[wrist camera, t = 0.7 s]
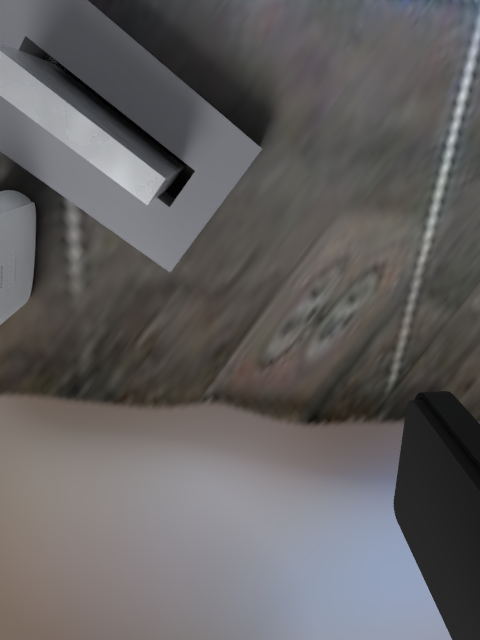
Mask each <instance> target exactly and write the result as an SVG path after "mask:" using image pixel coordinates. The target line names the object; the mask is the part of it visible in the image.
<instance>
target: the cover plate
mask: <svg viewBox="0 0 480 640" xmlns="http://www.w3.org/2000/svg"><path fill="white" fill-rule="evenodd" d="M0 96H2V97H3V98H4V99H6V100H7V101H8V102H10V103H11V104H12V105H14V106H15V107H16V108H18V109H19V110H20V111H22V112H23V113H24V114H26V115H27V116H28V117H30V118H31V119H32V120H34V121H35V122H36V123H38V124H39V125H40V126H42V127H43V128H44V129H46V130H47V131H48V132H50V133H51V134H52V135H54V136H55V137H56V138H58V139H59V140H60V141H62V142H63V143H64V144H66V145H67V146H68V147H70V148H71V149H72V150H74V151H75V152H76V153H78V154H79V155H81V156H82V157H83V158H85V159H86V160H87V161H89V162H90V163H91V164H93V165H94V166H95V167H97V168H98V169H99V170H101V171H102V172H103V173H105V174H106V175H107V176H109V177H110V178H111V179H113V180H114V181H115V182H117V183H118V184H119V185H121V186H122V187H123V188H125V189H126V190H127V191H129V192H130V193H131V194H133V195H134V196H135V197H137V198H138V199H139V200H141V201H142V202H143V203H145V204H146V205H148V204H150V203H151V202H152V201H153V200H155V199H156V198H157V197H158V196H159V195H161V194H162V193H163V192H164V191H166V190H167V189H168V188H169V187H170V186H171V185H172V184H173V182H174V181H175V180H176V178H177V177H178V175H179V174H180V172H181V171H182V169H183V168H184V167H185V166H183V165H182V164H181V163H180V162H178V161H177V160H176V159H175V158H173V157H172V156H171V155H170V154H168V153H167V152H166V151H165V150H163V149H162V148H161V147H159V146H158V145H157V144H156V143H154V142H153V141H152V140H151V139H149V138H148V137H147V136H146V135H144V134H143V133H142V132H141V131H139V130H138V129H137V128H136V127H134V126H133V125H132V124H131V123H129V122H128V121H127V120H125V119H124V118H123V117H122V116H120V115H119V114H118V113H117V112H115V111H114V110H113V109H112V108H110V107H109V106H108V105H107V104H105V103H104V102H103V101H102V100H100V99H99V98H98V97H96V96H95V95H94V94H93V93H91V92H90V91H89V90H88V89H86V88H85V87H84V86H83V85H81V84H80V83H79V82H78V81H76V80H75V79H74V78H73V77H71V76H70V75H69V74H68V73H66V72H65V71H64V70H62V69H61V68H60V67H59V66H57V65H56V64H53V63H51V62H48V61H46V60H43V59H41V58H38V57H35V56H33V55H30V54H28V53H25V52H23V51H20V50H17V49H15V48H12V47H10V46H7V45H5V44H2V43H0Z"/></svg>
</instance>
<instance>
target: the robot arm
mask: <svg viewBox="0 0 480 640" xmlns="http://www.w3.org/2000/svg"><path fill="white" fill-rule="evenodd" d="M394 511H395V516H396V519H397V522H398V524H399V526H400V528H401V530H402V532H403V535H404V537H405V539H406V541H407V543H408V545H409V547H410V549H411V552H412V554H413V556H414V558H415V560H416V563H417V565H418V567H419V569H420V571H421V573H422V575H423V578H424V580H425V582H426V584H427V586H428V588H429V591H430V593H431V595H432V597H433V599H434V601H435V603H436V606H437V608H438V610H439V612H440V614H441V616H442V618H443V621H444V623H445V625H446V627H447V629H448V631H449V633H450V636H451V638H452V640H480V424H479V423H478V422H477V421H476V419H475V418H474V417H473V416H472V415H471V414H470V413H469V412H468V411H467V410H466V408H465V407H464V406H463V405H462V404H461V403H460V402H459V401H458V400H457V399H456V397H455V396H454V395H453V394H452V393H450V392H448V391H440V392H422V393H418V394H417V396H416V397H415V400H410V401H409V402H408V404H407V408H406V415H405V423H404V430H403V437H402V445H401V452H400V459H399V467H398V474H397V482H396V489H395V496H394Z"/></svg>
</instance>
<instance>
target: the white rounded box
mask: <svg viewBox="0 0 480 640" xmlns="http://www.w3.org/2000/svg"><path fill="white" fill-rule="evenodd" d="M35 244H36V209H35V203H34V202H31V201H30V199H29V198H28V197H27V196H25V195H24V194H22V193H20V192H17V191H13V190H4V191H0V324H2V323H3V322H4V321H5V320H6V319H8V318H9V317H10V316H11V315H12V314H14V313H15V312H16V311H17V310H18V309H20V308H21V307H22V306H23V305H24V304H25V303H26V302H27V301H28V300H29V297H30V294H31V290H32V284H33V273H34V261H35Z"/></svg>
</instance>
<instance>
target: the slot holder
mask: <svg viewBox="0 0 480 640" xmlns="http://www.w3.org/2000/svg"><path fill="white" fill-rule="evenodd" d="M0 43H2V44H5V45H7V46H10V47H12V48H15V49H17V50H20V51H23V52H25V53H28V54H30V55H33V56H35V57H38V58H41V59H43V57H44V55H45V53H48V54H49V55H50V56H51V57H53V58H54V59H55V60H56V61H58V62H59V63H60V64H62V65H63V66H64V67H65V68H67V69H68V70H69V71H70V72H72V73H73V74H74V75H75V76H77V77H78V78H79V79H80V80H82V81H83V82H84V83H85V84H87V85H88V86H89V87H90V88H92V89H93V90H94V91H95V92H97V93H98V94H99V95H100V96H102V97H103V98H104V99H105V100H107V101H108V102H109V103H110V104H112V105H113V106H114V107H116V108H117V109H118V110H119V111H121V112H122V113H123V114H124V115H126V116H127V117H128V118H129V119H131V120H132V121H133V122H134V123H136V124H137V125H138V126H139V127H141V128H142V129H143V130H144V131H146V132H147V133H148V134H149V135H151V136H152V137H153V138H154V139H156V140H157V141H158V142H159V143H161V144H162V145H163V146H164V147H166V148H167V149H168V150H170V151H171V152H172V153H173V154H175V155H176V156H177V157H178V158H180V159H181V160H182V161H183V162H185V163H186V164H187V165H188V166H190V167H191V168H192V169H193V170H195V172H194V173H193V175H192V176H191V178H190V179H189V180H188V182H187V183H186V185H185V186H184V188H183V189H182V190H181V192H180V193H179V195H178V196H177V198H176V199H174V198H172V197H171V196H170V195H168V194H167V193H166V192H165V191H164V192H163V193H162V194H161V195H159V196H158V197H157V198H156V199H155V200H153V201H152V202H151V203H150V204H148V205H146V204H145V203H143V202H142V201H141V200H139V199H138V198H137V197H135V196H134V195H133V194H131V193H130V192H129V191H127V190H126V189H125V188H123V187H122V186H121V185H119V184H118V183H117V182H115V181H114V180H113V179H111V178H110V177H109V176H107V175H106V174H105V173H103V172H102V171H101V170H99V169H98V168H97V167H95V166H94V165H93V164H91V163H90V162H89V161H87V160H86V159H85V158H83V157H82V156H81V155H79V154H78V153H76V152H75V151H74V150H72V149H71V148H70V147H68V146H67V145H66V144H64V143H63V142H62V141H60V140H59V139H58V138H56V137H55V136H54V135H52V134H51V133H50V132H48V131H47V130H46V129H44V128H43V127H42V126H40V125H39V124H38V123H36V122H35V121H34V120H32V119H31V118H30V117H28V116H27V115H26V114H24V113H23V112H22V111H20V110H19V109H18V108H16V107H15V106H14V105H12V104H11V103H10V102H8V101H7V100H6V99H4V98H3V97H2V96H0V152H2V153H3V154H5V155H6V156H7V157H9V158H10V159H12V160H13V161H14V162H16V163H17V164H19V165H20V166H21V167H23V168H24V169H26V170H27V171H28V172H30V173H31V174H33V175H34V176H35V177H37V178H38V179H40V180H41V181H42V182H44V183H45V184H47V185H48V186H49V187H51V188H52V189H54V190H55V191H56V192H58V193H59V194H61V195H62V196H63V197H65V198H66V199H68V200H69V201H71V202H72V203H73V204H75V205H76V206H78V207H79V208H80V209H82V210H83V211H85V212H86V213H87V214H89V215H90V216H92V217H93V218H94V219H96V220H97V221H99V222H100V223H101V224H103V225H104V226H106V227H107V228H108V229H110V230H111V231H113V232H114V233H115V234H117V235H118V236H120V237H121V238H122V239H124V240H125V241H127V242H128V243H129V244H131V245H132V246H134V247H135V248H136V249H138V250H139V251H141V252H142V253H143V254H145V255H146V256H148V257H149V258H150V259H152V260H153V261H155V262H156V263H158V264H159V265H160V266H162V267H163V268H165V269H166V270H167V271H169V272H171V271H172V269H173V268H174V267H175V265H176V264H177V263H178V261H179V260H180V259H181V257H182V256H183V255H184V253H185V252H186V251H187V249H188V248H189V246H190V245H191V244H192V242H193V241H194V240H195V238H196V237H197V236H198V234H199V233H200V232H201V230H202V229H203V228H204V226H205V225H206V224H207V222H208V221H209V220H210V218H211V217H212V216H213V214H214V213H215V212H216V210H217V209H218V208H219V206H220V205H221V204H222V202H223V201H224V200H225V198H226V197H227V196H228V194H229V193H230V192H231V190H232V189H233V187H234V186H235V185H236V183H237V182H238V181H239V179H240V178H241V177H242V175H243V174H244V173H245V171H246V170H247V169H248V167H249V166H250V165H251V163H252V162H253V161H254V159H255V158H256V157H257V155H258V154H259V153H260V151H261V150H262V148H261V147H259V146H258V145H257V144H256V143H255V142H254V141H252V140H251V139H250V138H249V137H248V136H247V135H245V134H244V133H243V132H242V131H241V130H239V129H238V128H237V127H236V126H235V125H234V124H232V123H231V122H230V121H229V120H228V119H227V118H225V117H224V116H223V115H222V114H221V113H220V112H218V111H217V110H216V109H215V108H214V107H212V106H211V105H210V104H209V103H208V102H207V101H205V100H204V99H203V98H202V97H201V96H200V95H198V94H197V93H196V92H195V91H194V90H193V89H191V88H190V87H189V86H188V85H187V84H185V83H184V82H183V81H182V80H181V79H180V78H178V77H177V76H176V75H175V74H174V73H173V72H171V71H170V70H169V69H168V68H167V67H166V66H164V65H163V64H162V63H161V62H160V61H158V60H157V59H156V58H155V57H154V56H153V55H151V54H150V53H149V52H148V51H147V50H146V49H144V48H143V47H142V46H141V45H140V44H139V43H137V42H136V41H135V40H134V39H133V38H131V37H130V36H129V35H128V34H127V33H126V32H124V31H123V30H122V29H121V28H120V27H119V26H117V25H116V24H115V23H114V22H113V21H112V20H110V19H109V18H108V17H107V16H106V15H104V14H103V13H102V12H101V11H100V10H99V9H97V8H96V7H95V6H94V5H93V4H92V3H90V2H89V1H88V0H0Z"/></svg>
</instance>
